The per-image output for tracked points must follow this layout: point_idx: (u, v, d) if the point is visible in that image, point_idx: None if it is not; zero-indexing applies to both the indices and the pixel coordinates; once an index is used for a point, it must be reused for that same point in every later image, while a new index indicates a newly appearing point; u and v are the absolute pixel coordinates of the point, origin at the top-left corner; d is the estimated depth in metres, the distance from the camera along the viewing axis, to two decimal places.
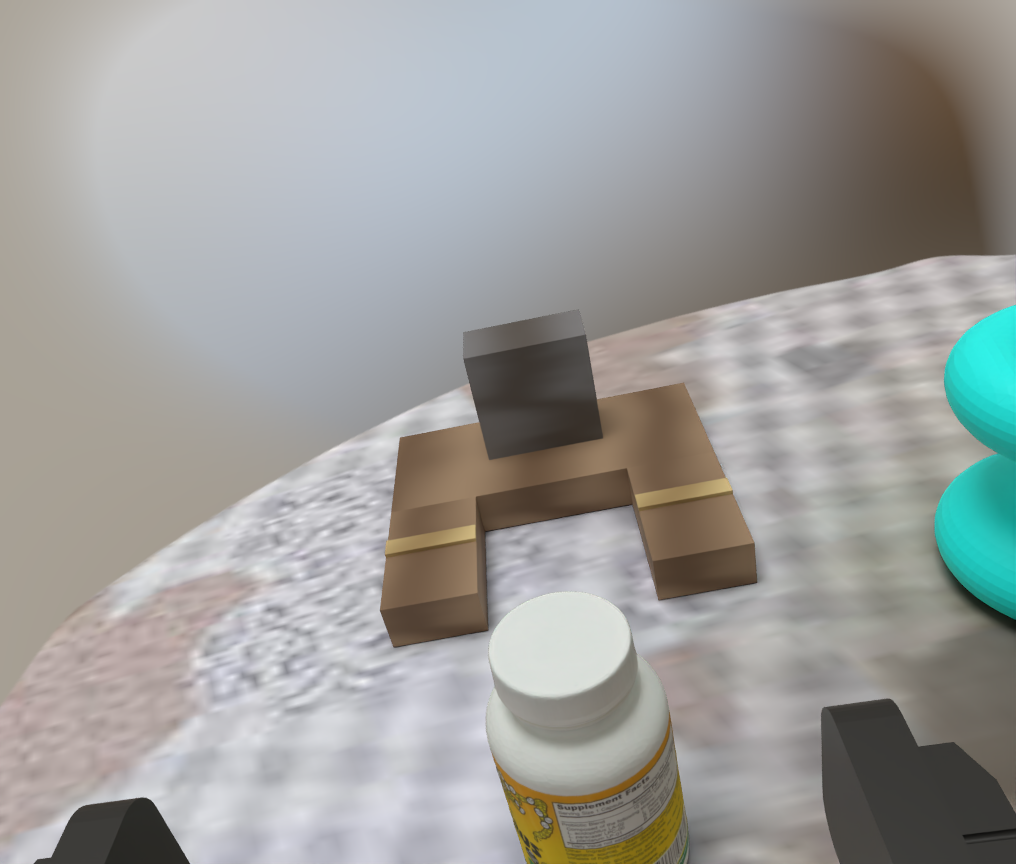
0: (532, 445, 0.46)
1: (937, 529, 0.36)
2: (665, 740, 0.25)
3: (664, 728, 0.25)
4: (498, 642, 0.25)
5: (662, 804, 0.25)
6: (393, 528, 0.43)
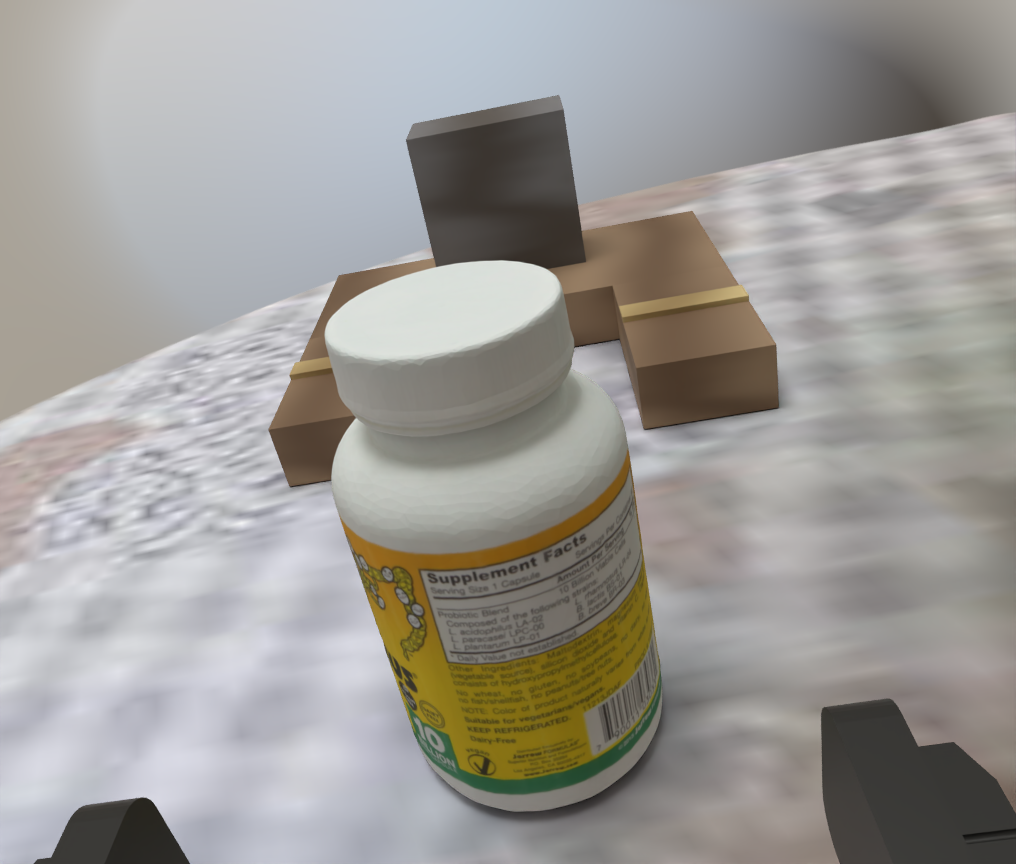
0: None
1: None
2: (617, 484, 0.15)
3: (616, 462, 0.15)
4: (345, 313, 0.15)
5: (611, 600, 0.15)
6: (308, 353, 0.33)
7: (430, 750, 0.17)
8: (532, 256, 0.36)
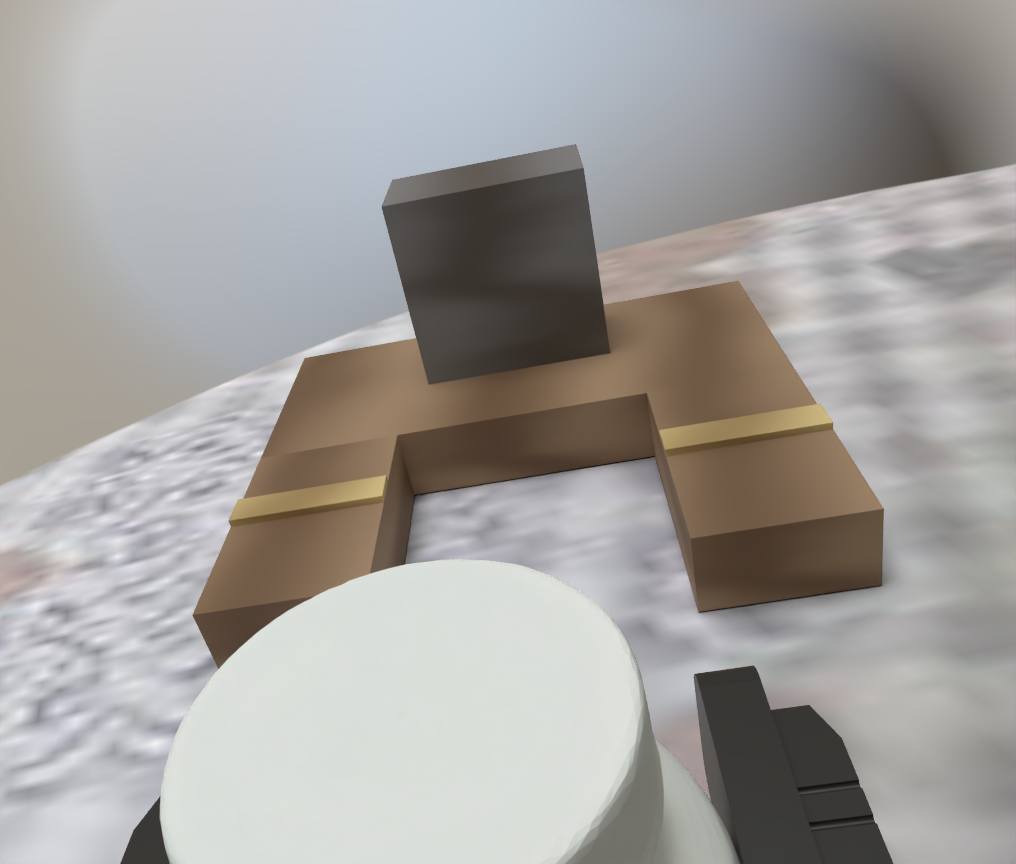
0: (497, 362, 0.29)
1: None
2: None
3: None
4: (214, 708, 0.08)
5: None
6: (257, 481, 0.26)
7: None
8: (543, 346, 0.29)
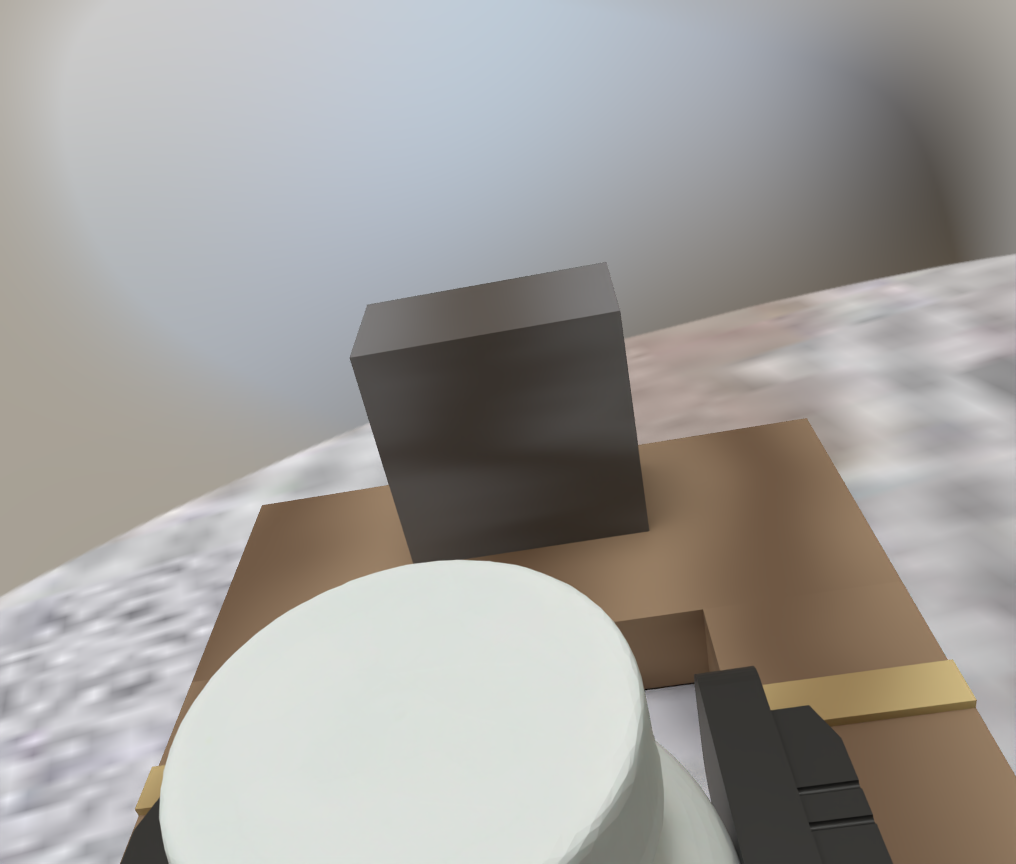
0: (502, 541, 0.22)
1: None
2: None
3: None
4: (214, 708, 0.08)
5: None
6: None
7: None
8: (562, 523, 0.22)
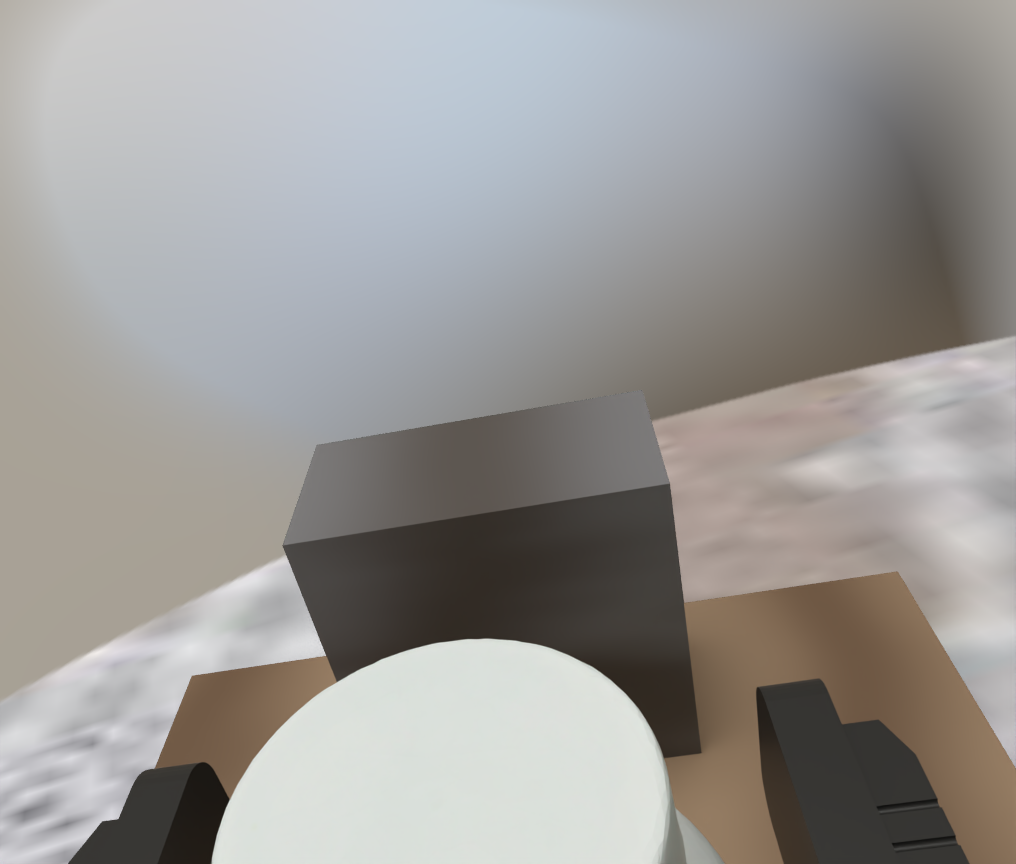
0: None
1: None
2: None
3: None
4: (257, 793, 0.08)
5: None
6: None
7: None
8: None
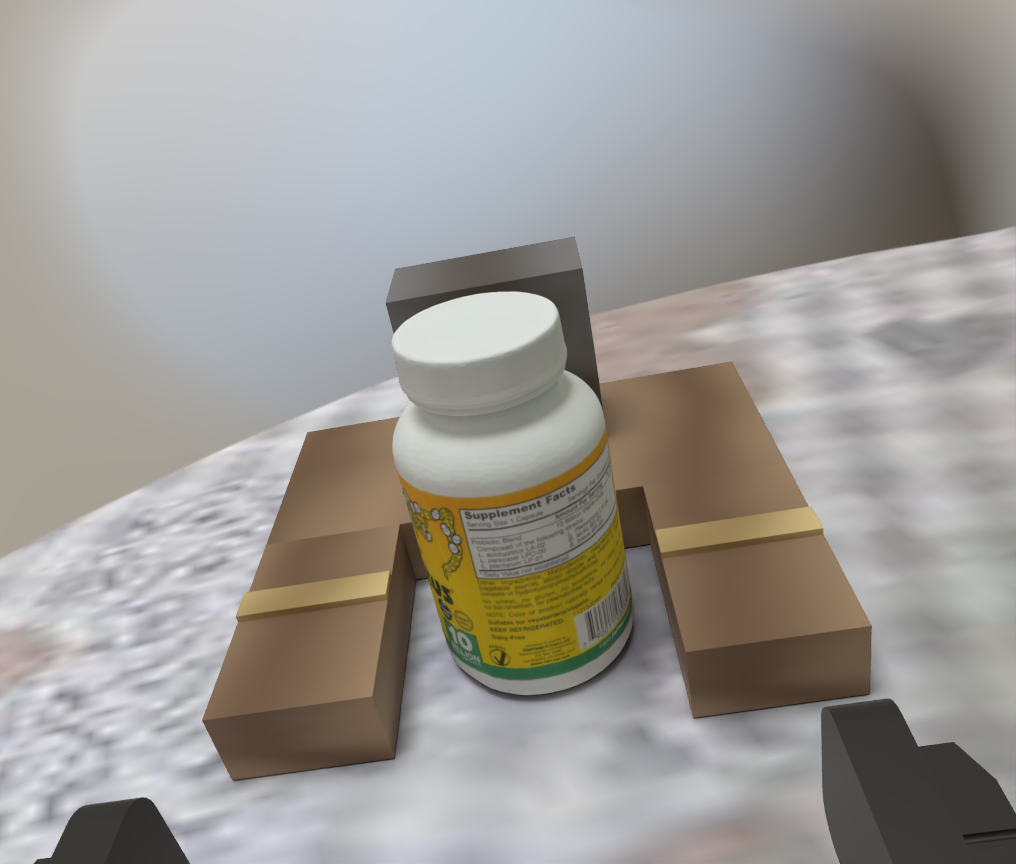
0: None
1: None
2: (597, 451, 0.21)
3: (596, 435, 0.21)
4: (405, 330, 0.21)
5: (593, 534, 0.22)
6: (262, 571, 0.27)
7: (460, 651, 0.24)
8: None
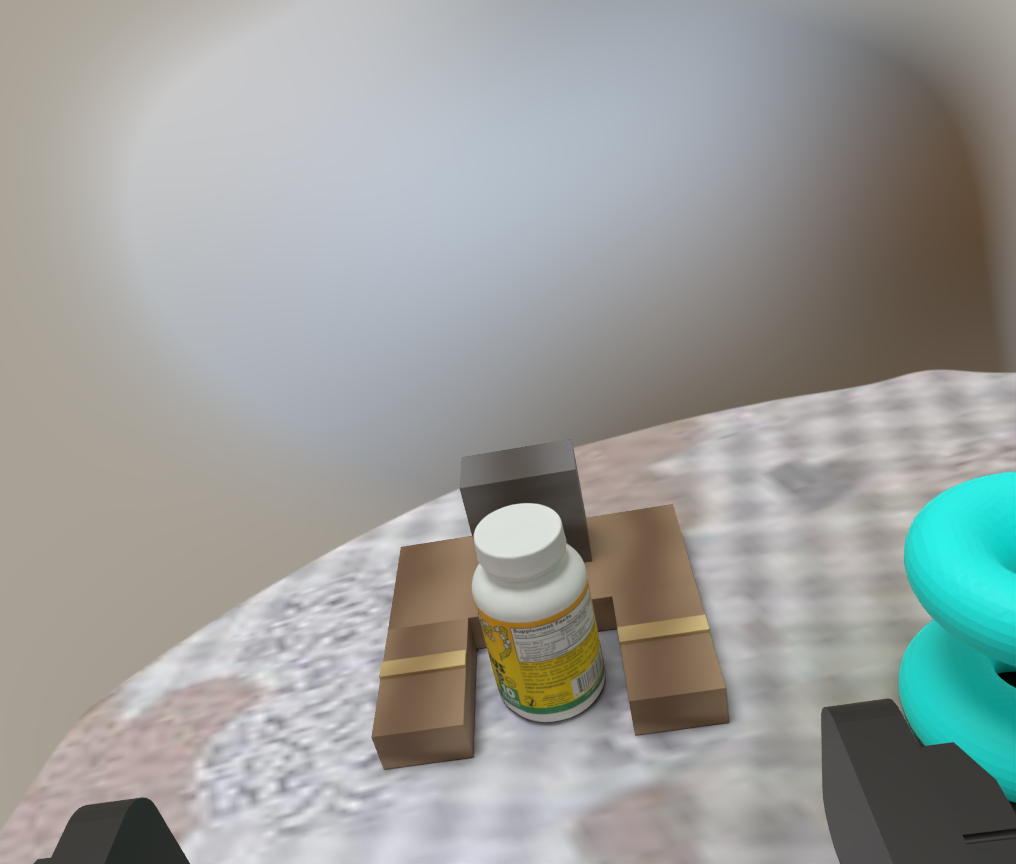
0: None
1: (900, 683, 0.38)
2: (582, 594, 0.40)
3: (582, 586, 0.40)
4: (480, 530, 0.40)
5: (581, 637, 0.40)
6: (389, 647, 0.45)
7: (508, 697, 0.42)
8: None
